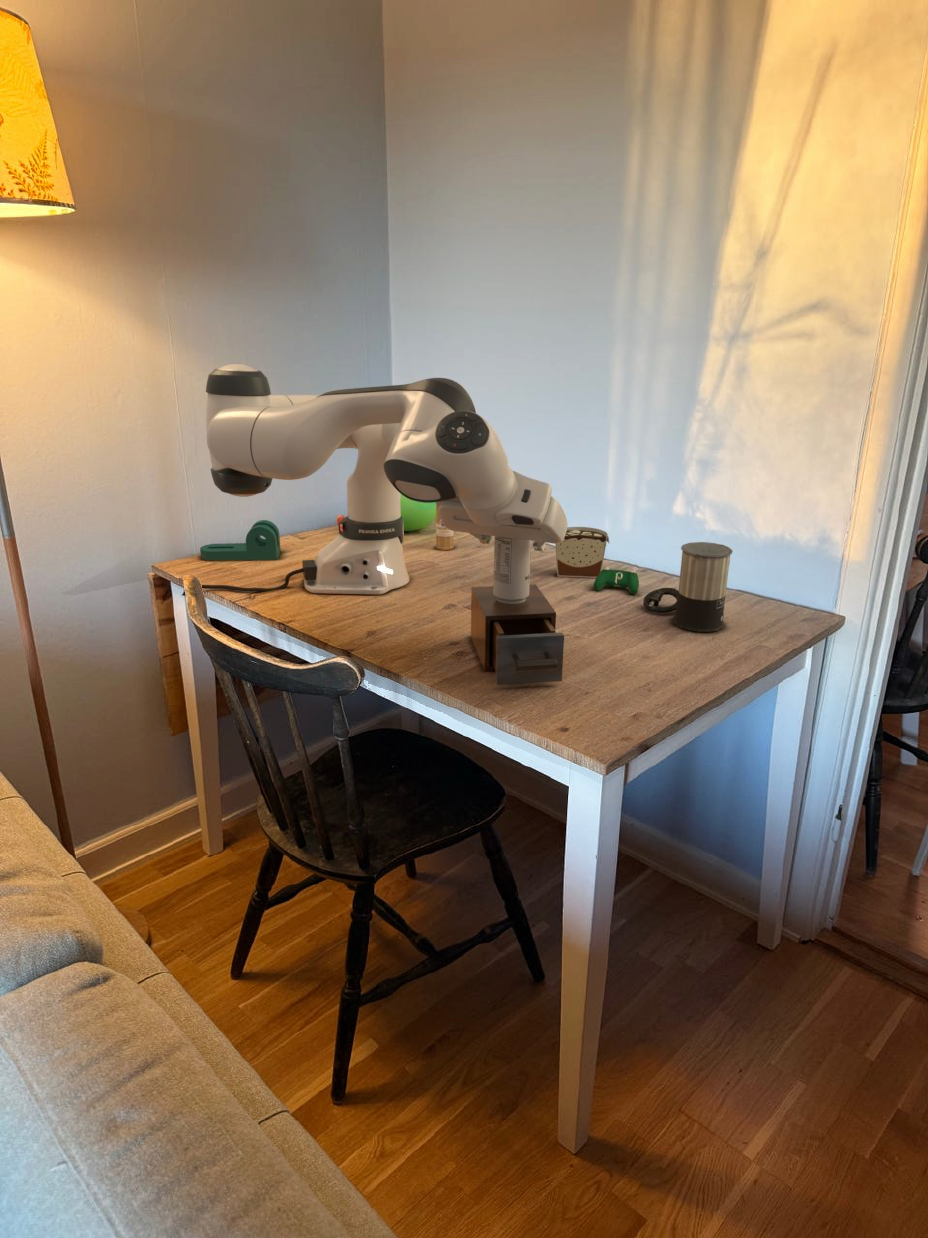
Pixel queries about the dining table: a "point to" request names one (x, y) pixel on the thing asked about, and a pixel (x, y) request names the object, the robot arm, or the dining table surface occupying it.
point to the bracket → (247, 545)
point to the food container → (581, 552)
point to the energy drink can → (511, 569)
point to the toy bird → (416, 513)
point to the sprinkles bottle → (443, 534)
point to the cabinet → (502, 616)
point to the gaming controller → (617, 579)
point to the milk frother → (697, 588)
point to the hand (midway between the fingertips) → (513, 543)
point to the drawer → (526, 651)
